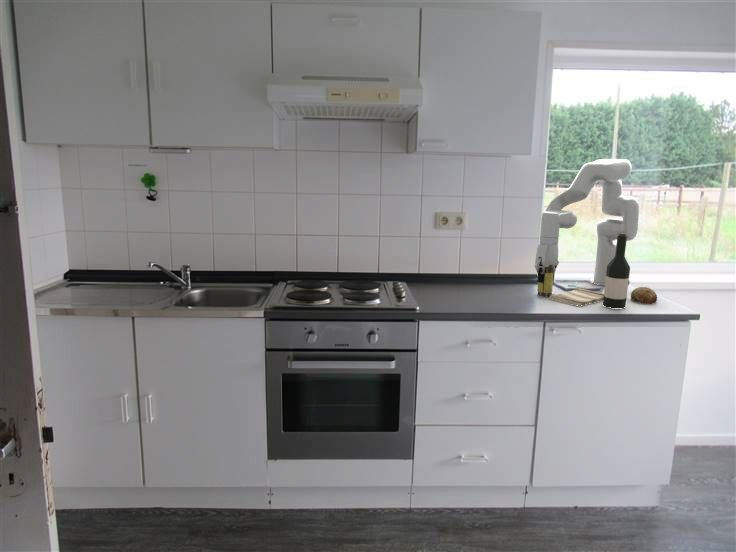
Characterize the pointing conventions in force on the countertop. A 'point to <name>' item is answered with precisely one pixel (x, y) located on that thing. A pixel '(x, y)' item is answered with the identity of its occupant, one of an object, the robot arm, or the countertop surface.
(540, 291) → the sauce bottle
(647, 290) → the bread roll
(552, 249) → the robot arm
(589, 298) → the board
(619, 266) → the wine bottle
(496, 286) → the countertop surface
